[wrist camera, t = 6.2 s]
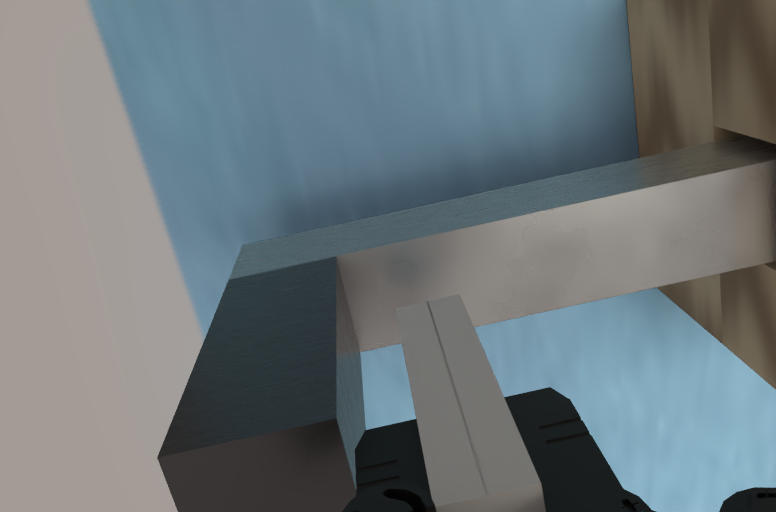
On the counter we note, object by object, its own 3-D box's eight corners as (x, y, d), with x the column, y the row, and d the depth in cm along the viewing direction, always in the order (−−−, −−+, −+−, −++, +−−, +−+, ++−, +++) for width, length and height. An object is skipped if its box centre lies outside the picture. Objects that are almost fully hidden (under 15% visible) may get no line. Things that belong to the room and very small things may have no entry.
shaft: (242, 244, 22) (157, 457, 11) (1023, 73, 22) (1655, 128, 11) (267, 329, 23) (210, 595, 12) (1013, 165, 23) (1586, 294, 12)
